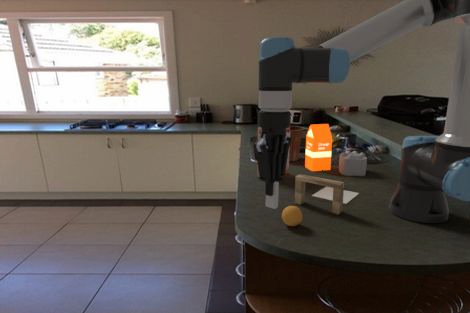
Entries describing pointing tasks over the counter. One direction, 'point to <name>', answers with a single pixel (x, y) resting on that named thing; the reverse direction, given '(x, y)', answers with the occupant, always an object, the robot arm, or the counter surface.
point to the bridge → (337, 185)
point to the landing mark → (328, 194)
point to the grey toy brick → (352, 163)
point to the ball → (292, 216)
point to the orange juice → (318, 147)
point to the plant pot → (295, 142)
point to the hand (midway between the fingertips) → (271, 206)
